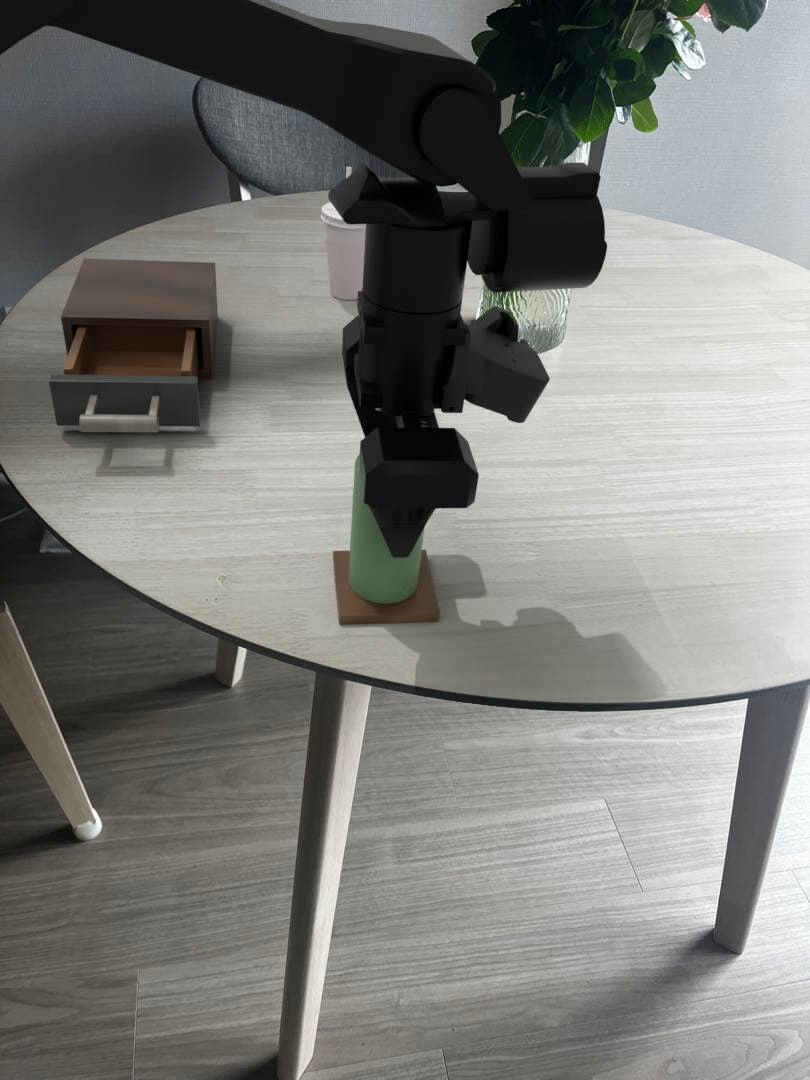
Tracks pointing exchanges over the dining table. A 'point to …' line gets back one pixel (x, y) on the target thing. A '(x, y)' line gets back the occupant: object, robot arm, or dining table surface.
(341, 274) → the smoothie
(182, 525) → the dining table surface
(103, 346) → the drawer
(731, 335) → the dining table surface
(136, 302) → the cabinet
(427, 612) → the plate
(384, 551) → the green bottle
